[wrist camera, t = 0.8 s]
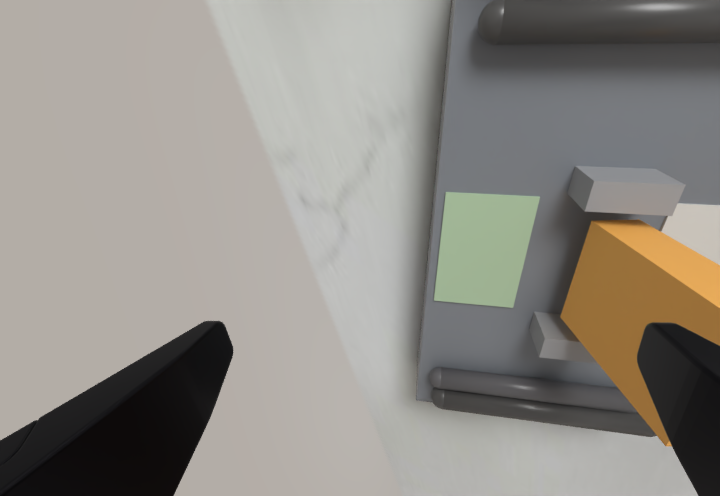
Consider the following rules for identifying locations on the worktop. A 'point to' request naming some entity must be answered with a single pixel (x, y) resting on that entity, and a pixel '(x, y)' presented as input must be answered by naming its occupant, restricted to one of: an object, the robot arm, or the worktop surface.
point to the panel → (558, 189)
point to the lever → (638, 300)
